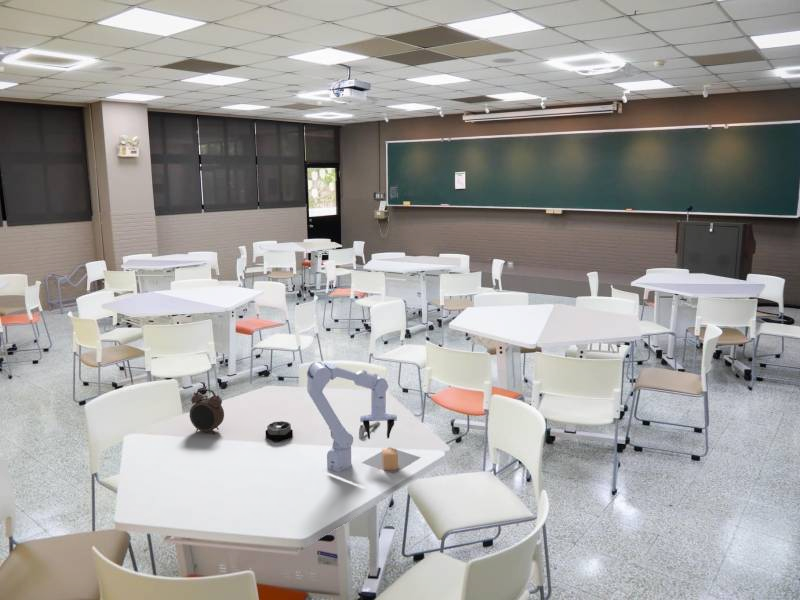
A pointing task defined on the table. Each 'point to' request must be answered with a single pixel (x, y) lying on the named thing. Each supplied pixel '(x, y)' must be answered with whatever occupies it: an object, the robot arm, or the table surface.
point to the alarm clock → (206, 411)
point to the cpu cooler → (279, 431)
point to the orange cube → (389, 459)
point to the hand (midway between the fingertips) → (378, 437)
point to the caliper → (363, 430)
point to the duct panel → (403, 461)
